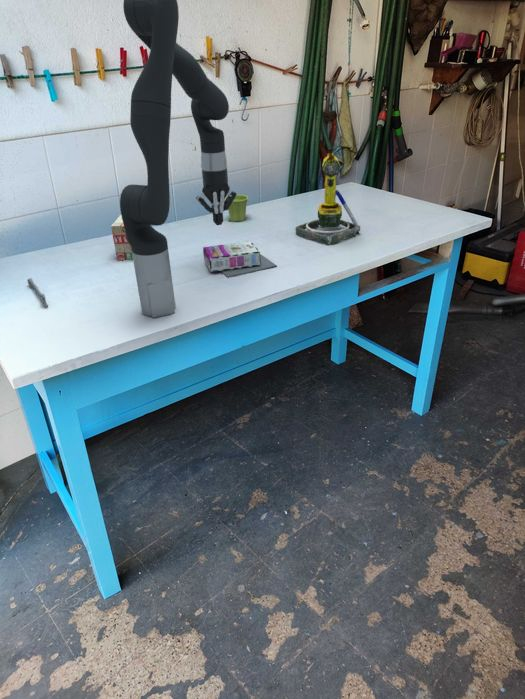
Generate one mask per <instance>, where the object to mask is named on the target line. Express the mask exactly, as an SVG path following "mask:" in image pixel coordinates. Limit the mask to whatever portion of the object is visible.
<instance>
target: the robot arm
mask: <svg viewBox="0 0 525 699" xmlns="http://www.w3.org/2000/svg"><path fill="white" fill-rule="evenodd" d="M122 6H123V7H122V8H123V13H124V17H125V20H126V23H127V24H128V25H127V26H129V27H130V30H132V32H133V33H134V34H135V35H136V36H137V38H138V39H140V41H142V43H143V44H144V45H146V47H148V49H149V54H148V55H149V56H148V57H147V58H148V59H147V61H146V63H145V65H144V67H143V68H142V71H141V72H140V74H139V76H138V77H137V80H136V82H135V84H134V86H133V89H132V92H131V96H130V115H129V116H130V121H129V123H130V127H131V128H130V129H131V131H132V133H133V136H134V138H135V141H136V143H137V144H138V147H139V149H140V151H141V153H142V155H143V157H144V161H145V165H146V171H147V172H146V173H147V184H146V185H144V184H128V185H126V186H125V187H124V188H123V189H122V191H121V193H120V199H119V208H120V215H122V220H123V224H124V228H125V233H126V237H127V240H128V243H129V244H130V246H131V250H132V256H133V260H132V261H133V266H134V273H135V278H136V279H135V280H136V285H137V286H136V287H137V291H138V296H139V302H140V307H141V313H142V314H144V315H145V316H149V317H150V318H153V319H154V318H158V317H163V316H167V315H171V314H176V313H175V311H176V308H177V307H176V306H177V305H176V299H175V292H174V284H173V279H172V278H173V276H172V269H171V268H172V266H171V262H170V260H171V259H170V253H169V244H168V239H167V238H166V236H165V235H164V234H163V233H161V232H160V231H158V230H156V229H155V228H154V227H153V226H162V225H163V224H165V223H166V221H167V219H168V217H169V213H170V201H171V200H170V197H171V195H170V194H171V193H170V173H169V172H170V171H169V168H170V167H169V153H170V152H169V150H170V148H169V147H170V134H171V132H170V131H171V118H172V117H171V114H172V85H173V83H172V82H173V77H174V78H175V79H176V81H177V82H178V84H179V85H180V87H181V88H182V89H183V91H184V93H185V94H186V96H187V97H189V98H190V99H191V101H190V110H191V114H192V117H193V120H194V123H195V126H196V130H197V133H198V135H199V142H200V144H199V145H200V153H201V154H200V163H201V164H200V168H201V174H202V175H201V176H202V177H201V178H202V185H203V186H202V190H201V191H202V192H201V193H200V195H197V196H196V201H197V202H199V203H200V205H201V206H202V207H203V208H204V210H206V211H207V212H209V213H210V214H211V213H212V221H213V223H214V224H215V225H216V226H221V225H223V222H224V212H225V211H228V209H229V207H230V205H231V204H232V202H233V200H234V198H235V197H236V195H238V194H237V192H235V191H233V190H231V189H230V185H229V183H228V182H229V179H228V178H229V176H228V175H229V174H228V164H227V162H228V160H227V153H226V146H225V142H226V141H225V134H224V131H223V130H222V129H220V128H217V127H215V126H213V124H212V122H211V121H222V120H224V119H225V118H226V117H227V115H228V114H229V111H230V110H229V109H230V106H229V101H228V99H227V96H226V95H225V93H224V92H223V91H222V89H220V87H218V86H217V85H216V84H215V83H214V82H213V81H212V80H210V79H209V78H208V76H207V74H206V73H205V71H204V69H203V68H202V66H201V65H200V63H199V62H198V60H197V59H196V58H195V57H194V56H193V55H192V54H191V53H190V52H189V51H187V50H186V49H185V48H183V47H182V46H181V45H180V44H178V43H177V38H178V30H179V18H180V17H179V14H180V13H179V4H178V0H123V5H122ZM225 197H227V198H226V200H225ZM206 200H208V201H209V203H210V205H209V204H208V202H206Z"/></svg>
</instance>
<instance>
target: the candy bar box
mask: <svg viewBox="0 0 525 699" xmlns="http://www.w3.org/2000/svg"><path fill="white" fill-rule="evenodd" d="M202 250H203V259H204V262H205V264H206V266H207V268H208V270H209V271H210V273H214V272H215V273H216V272H220V271H223V270H230V269H238V268H246V267H253V266H260V265H261V261H260V260H261V258H260V254H261V251H260V250H259V249H258V248H257V247H256V245H255V244H254V243H253V241H251V240H250V241H243V242H242V241H241V242H236V243H234V242H233V243H228V244H227V243H225V244H218V245H217V244H216V245H212V246H211V245H210V246H204V247H202Z"/></svg>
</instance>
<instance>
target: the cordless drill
mask: <svg viewBox="0 0 525 699" xmlns="http://www.w3.org/2000/svg"><path fill="white" fill-rule="evenodd" d="M321 166H322V171H323V174H324V175H325V181H324V202H322V203H320V204H319V205H318V207H317V218H318V219H314V220H310V221H308V222H304V223H303V224H300V225H297V226H296V227H295V235H297V236H298V237H300V238H302V237H303V238H302V239H305V240H314V241H316V242H317V243H320V244H321V245H326V246H328V245H329V244H330V245H331V246H332V245H335V244H339V243H340V242H341V241H343V240H344V239H351V238H353V237H354V238H355V237H356V235H357V234H360V231H361V225H359V224H358V222H357V219H356V217H355V216H354V214H353V212H352V211H351V210H350V207H349V206H348V204H347V202H346V200H345V198H344V197H343V195H342V194H341V192H340V191H339V190H338V189H337V187H336V186H337V181H336V180H337V178H336V177H337V176H338V175H339V172H340V170H341V165H340V160H339V159H338V158H337V157H336V156H335V154H334V153H327V156H325V157H324V158H323V160H322V165H321ZM336 196H337V197H338V200H339V202H340V203H341V205H340V204H339V203H338V202H336ZM342 206H343V208H344V210H345V211H346V213H347V215H348V216H349V218H350V220H351V221H352V222H349V221H345V220H342V216H343V212H342V211H343V208H342ZM340 225H341V226H343V227H344V228H342V229H337V230H319V229H315V228H318V227H320V228H322V229H323V228H327V229H328V228H329V229H330V228H333V229H334V228H335V229H336V228H339V227H340ZM312 228H313V229H312Z"/></svg>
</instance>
